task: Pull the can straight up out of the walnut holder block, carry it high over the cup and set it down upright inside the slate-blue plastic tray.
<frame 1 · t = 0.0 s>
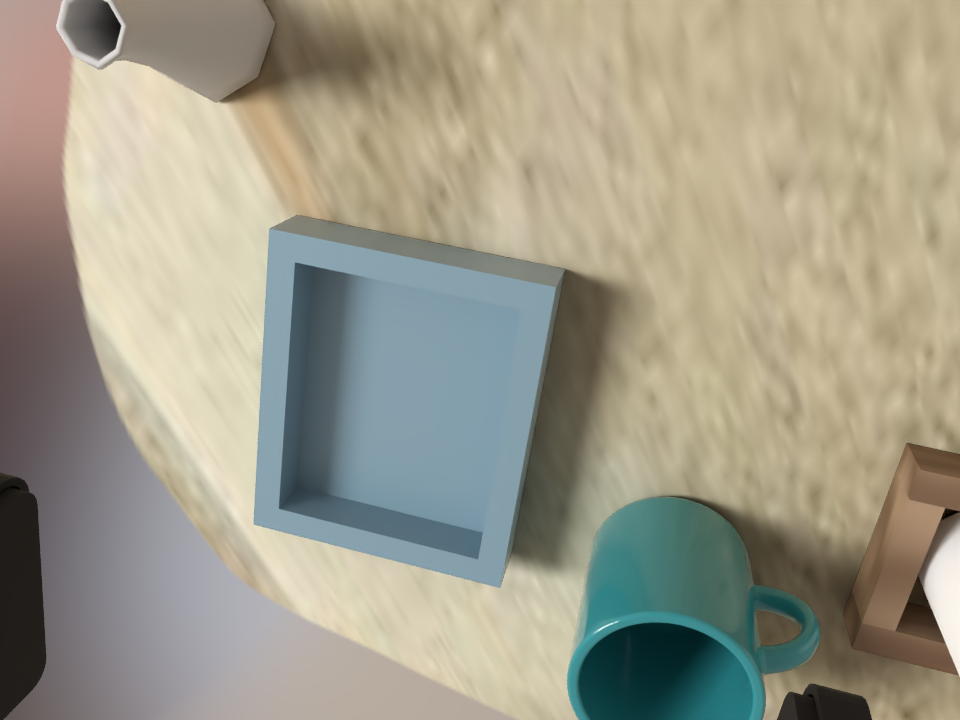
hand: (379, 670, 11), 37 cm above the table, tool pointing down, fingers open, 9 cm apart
flask: (211, 25, 46), on the table
tray: (409, 392, 51), on the table
cup: (694, 558, 51), on the table
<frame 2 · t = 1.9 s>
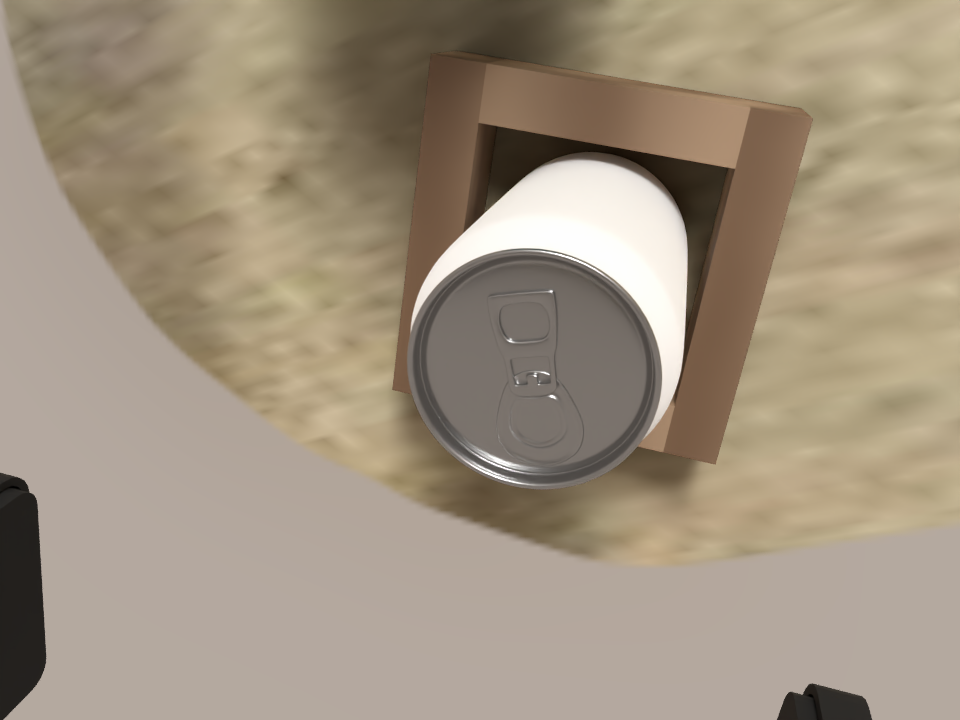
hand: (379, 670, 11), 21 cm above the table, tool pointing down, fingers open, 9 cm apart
can: (591, 244, 30), resting in holder
holder: (590, 246, 30), on the table
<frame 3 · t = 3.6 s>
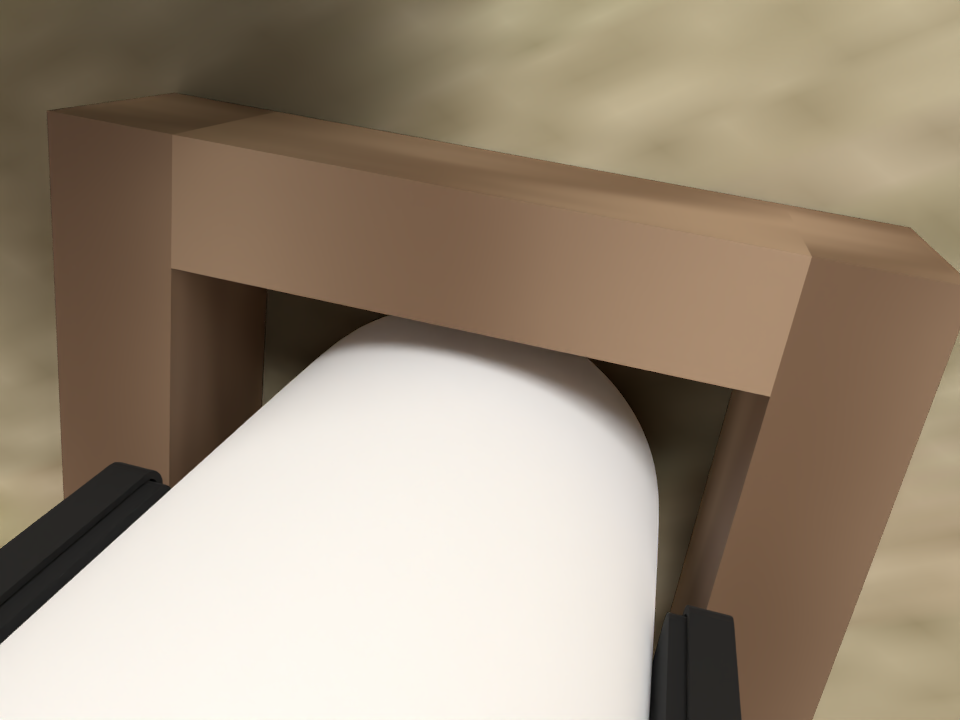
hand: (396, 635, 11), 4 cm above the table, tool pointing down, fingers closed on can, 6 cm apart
can: (470, 473, 15), resting in holder, touching gripper
holder: (468, 480, 15), on the table
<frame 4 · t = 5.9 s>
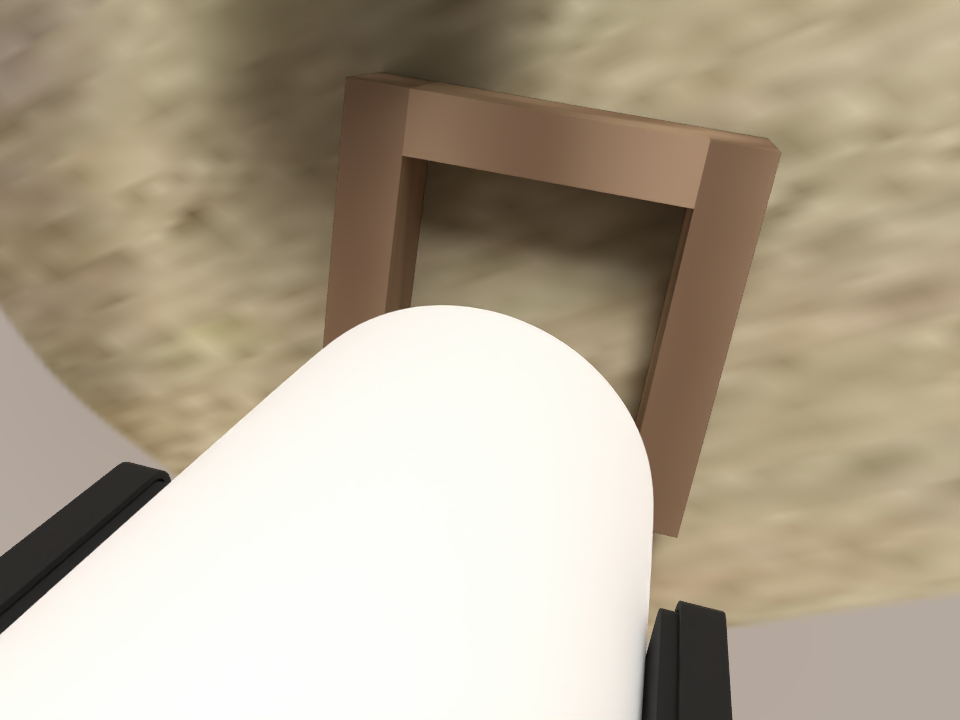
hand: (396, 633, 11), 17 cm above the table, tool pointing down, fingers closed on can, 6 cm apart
can: (465, 472, 15), point 12 cm above the table, touching gripper
holder: (535, 290, 27), on the table
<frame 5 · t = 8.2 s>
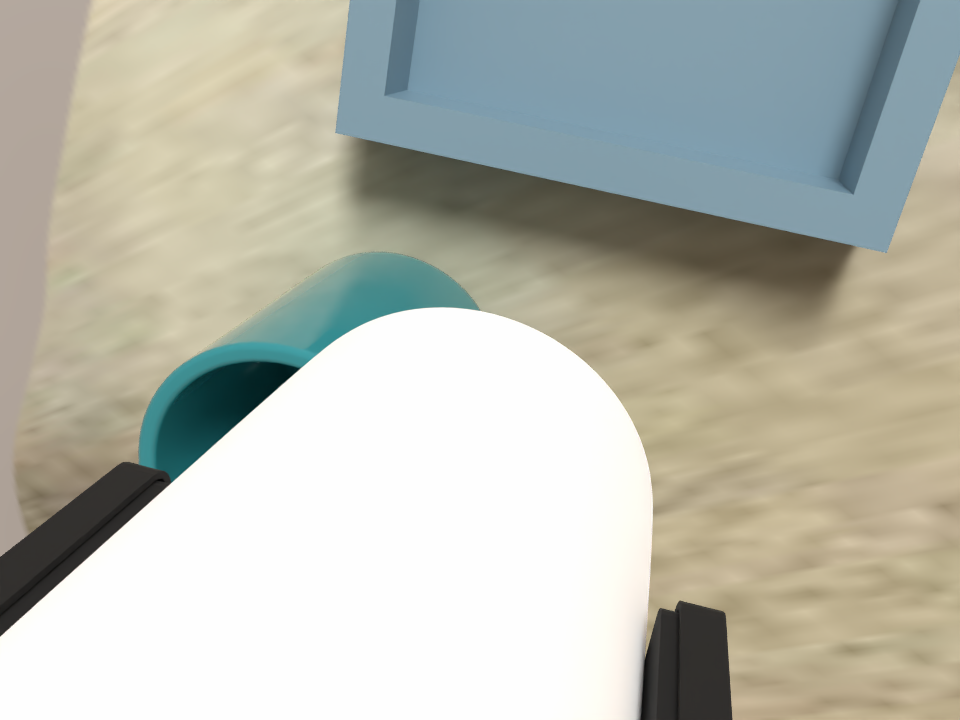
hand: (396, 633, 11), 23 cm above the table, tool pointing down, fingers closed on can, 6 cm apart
can: (465, 474, 15), point 19 cm above the table, touching gripper
cup: (398, 387, 37), on the table
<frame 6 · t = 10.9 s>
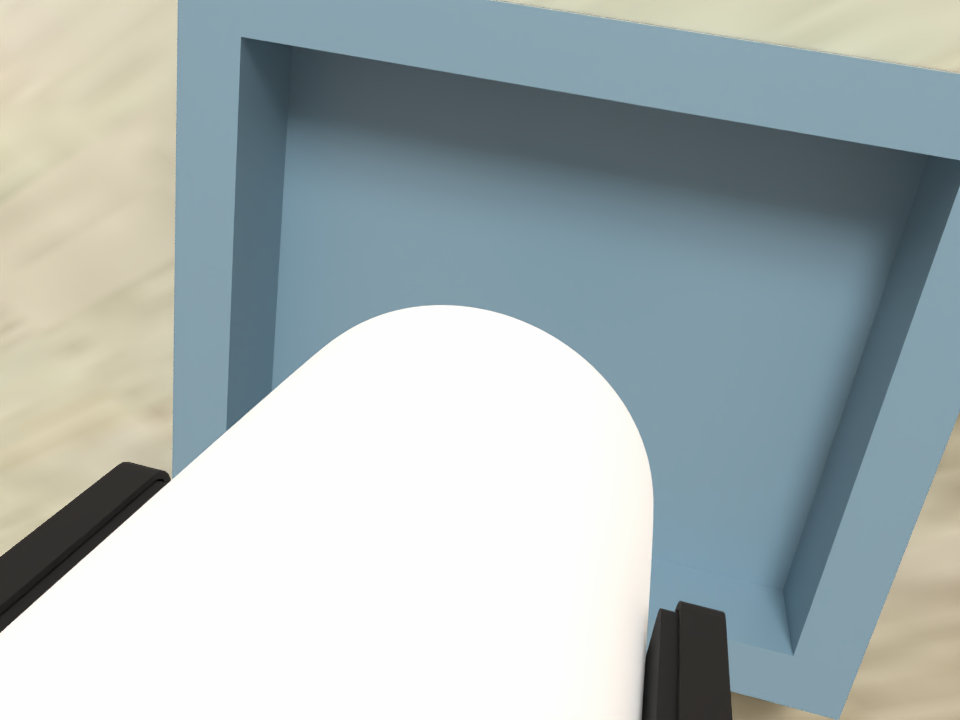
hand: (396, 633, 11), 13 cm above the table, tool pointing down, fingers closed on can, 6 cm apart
can: (465, 472, 15), point 9 cm above the table, touching gripper
tray: (554, 317, 23), on the table
when the fingers open (6 cm above the table, at t = 12.7 s): can drops 1 cm, resting on tray.
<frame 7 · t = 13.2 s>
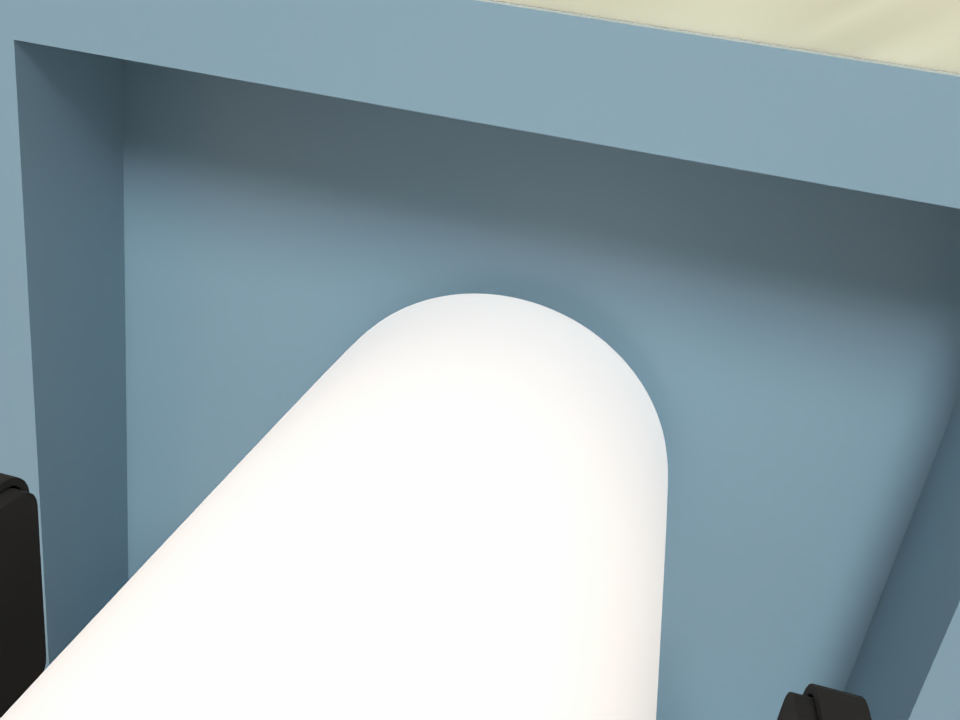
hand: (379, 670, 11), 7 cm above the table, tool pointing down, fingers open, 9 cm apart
can: (494, 444, 17), point 1 cm above the table, touching tray
tray: (498, 420, 17), on the table
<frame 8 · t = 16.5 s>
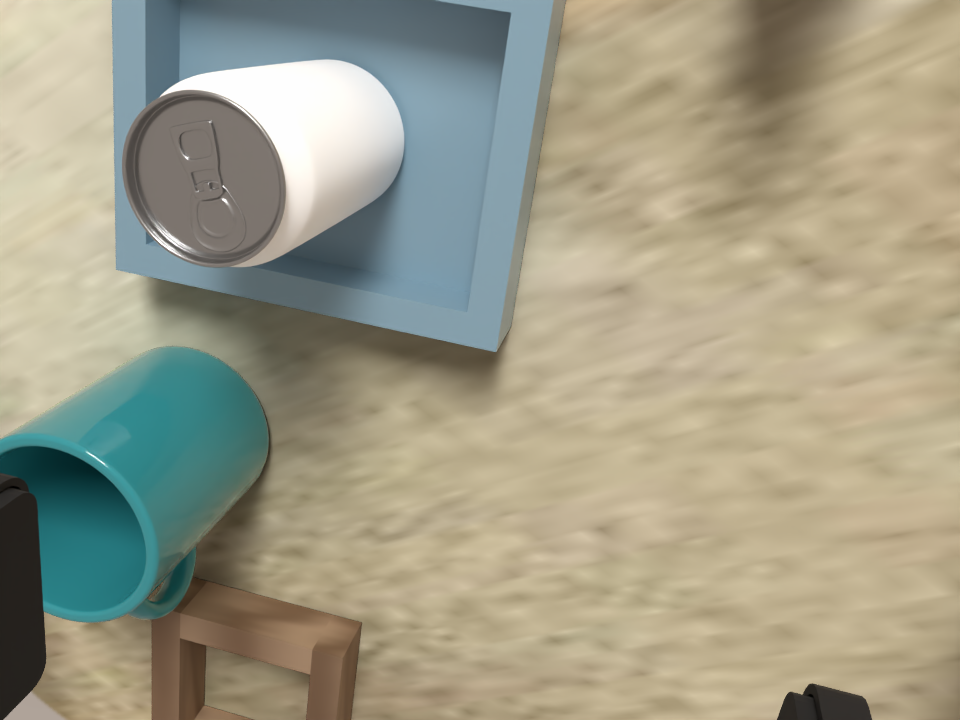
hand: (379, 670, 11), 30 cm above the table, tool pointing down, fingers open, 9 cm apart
can: (338, 135, 39), point 1 cm above the table, touching tray
holder: (264, 673, 52), on the table
tray: (341, 129, 40), on the table
cup: (203, 445, 48), on the table
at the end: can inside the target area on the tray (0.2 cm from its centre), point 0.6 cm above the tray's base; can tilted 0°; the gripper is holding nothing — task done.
